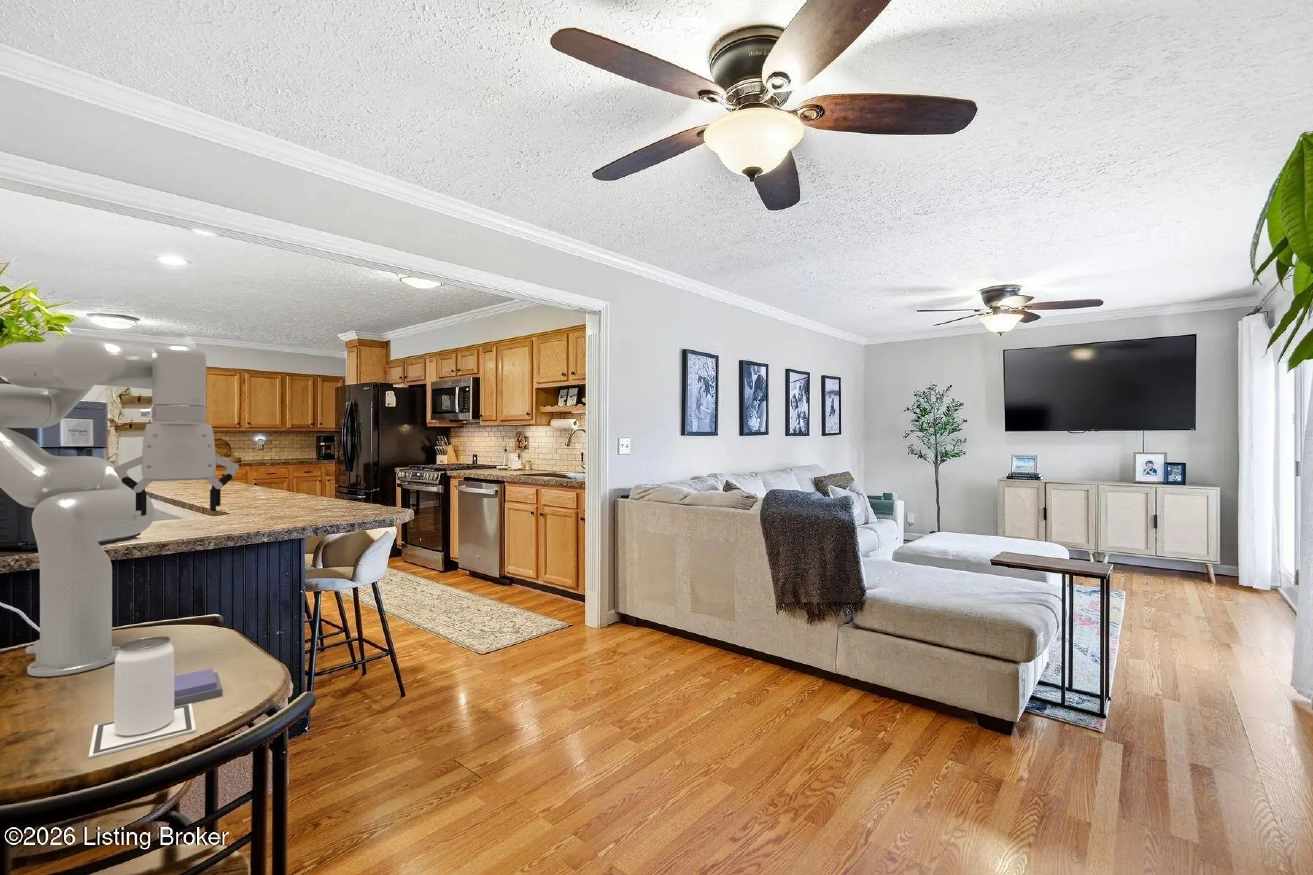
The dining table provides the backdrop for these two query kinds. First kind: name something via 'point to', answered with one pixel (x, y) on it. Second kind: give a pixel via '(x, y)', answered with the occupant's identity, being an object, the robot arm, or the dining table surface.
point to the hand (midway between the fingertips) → (179, 512)
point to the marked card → (112, 742)
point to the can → (144, 686)
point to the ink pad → (196, 687)
